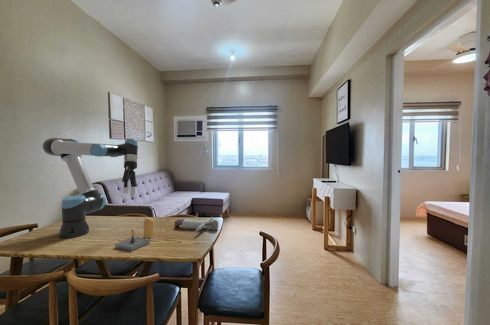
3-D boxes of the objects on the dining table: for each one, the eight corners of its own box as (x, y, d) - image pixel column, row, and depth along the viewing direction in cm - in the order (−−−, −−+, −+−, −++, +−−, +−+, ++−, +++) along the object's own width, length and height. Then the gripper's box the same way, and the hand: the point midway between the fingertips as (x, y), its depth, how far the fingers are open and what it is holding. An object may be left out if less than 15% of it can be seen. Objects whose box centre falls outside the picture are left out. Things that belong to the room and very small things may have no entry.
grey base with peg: (115, 247, 119) (114, 230, 118) (134, 239, 130) (133, 224, 129) (131, 251, 114) (131, 233, 114) (149, 242, 125) (149, 226, 125)
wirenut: (142, 237, 133) (141, 219, 133) (148, 234, 138) (148, 217, 138) (148, 238, 131) (148, 220, 131) (155, 235, 136) (155, 218, 136)
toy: (164, 235, 138) (210, 238, 132) (164, 224, 138) (210, 227, 132) (186, 221, 167) (224, 223, 161) (186, 212, 167) (224, 214, 161)
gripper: (131, 155, 133) (129, 190, 127) (141, 167, 156) (141, 197, 150) (117, 156, 131) (115, 191, 125) (130, 167, 155) (128, 198, 149)
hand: (129, 195), depth 138 cm, fingers open, 13 cm apart
